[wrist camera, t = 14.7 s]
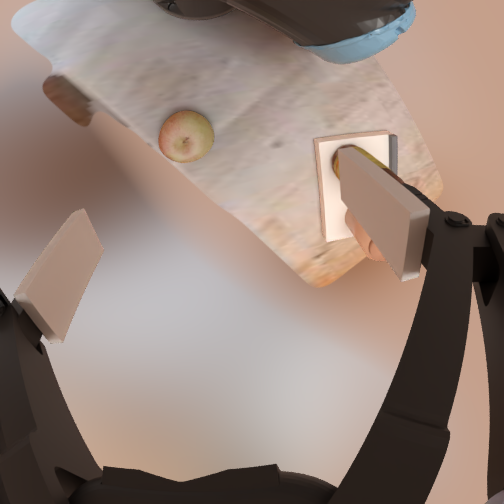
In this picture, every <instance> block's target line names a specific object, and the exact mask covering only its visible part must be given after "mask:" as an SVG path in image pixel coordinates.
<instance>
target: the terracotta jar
mask: <svg viewBox="0 0 504 504" xmlns="http://www.w3.org/2000/svg"><path fill="white" fill-rule="evenodd" d="M345 223H346V225H347V227H348V228H349V230H350V231H351V233H352V234H353V235H354V237H355V238H356V240H357V241H358V243H359V244H360V246H361V247H362V249H363V251H364V252H365V254H366V255H367V256H368V257H369V258H370V259H372V260H377V261H385V260H386V259H385V258H384V256H383V255H382V253H381V252H380V251H379V249H378V248H377V246H376V245H375V244H374V242H373V241H372V240H371V238H370V237H369V235H368V234H367V233H366V231H365V230H364V229H363V227H362V226H361V225H360V223H359V222H358V221H357V219H356V218H355V217H354V216H353V214H352V213H351V212H350V210H349V209H347V211H346V214H345Z"/></svg>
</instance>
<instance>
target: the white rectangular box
mask: <svg viewBox="0 0 504 504" xmlns="http://www.w3.org/2000/svg"><path fill="white" fill-rule="evenodd" d="M314 144H315V153H316V162H317V172H318V182H319V193H320V205H321V218H322V233H323V236H324V238H325V240H326V242H329V241H334V240H339V239H344V238H348V237H353V236H354V235H353V234H352V233H351V231H350V230H349V228H348V227H347V225H346V223H345V214H346V211H347V209H348V208H347V207H346V205H345V204H344V203H343V201H342V200H341V192H340V180H339V179H338V178H337V177H336V175H335V173H334V171H333V168H332V159H333V156H334V154H335V152H336V151H337V150H338V149H339V148H340V147H343V146H345V145H351V144H352V145H356V146H358V147H361V148H362V149H364V150H365V151H367V152H368V153H370V154H371V155H372V156H374V157H375V158H376V159H378V160H379V161H380V162H382V163H383V164H384V165H386V166H387V167H388V168H389V169H391V170H392V171H393V172H394V173H395V174H396V175H397V163H398V143H397V136H396V135H394V134H392V133H390V132H388V131H375V132H365V133H355V134H346V135H338V136H330V137H322V138H315V139H314Z"/></svg>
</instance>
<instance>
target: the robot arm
mask: <svg viewBox="0 0 504 504" xmlns="http://www.w3.org/2000/svg"><path fill="white" fill-rule="evenodd" d="M153 1H154V2H155V3H156V4H157V5H158V6H159V7H160V8H161V9H163V10H164V11H165V12H167V13H169V14H171V15H173V16H175V17H178V18H182V19H188V20H206V19H212V18H216V17H219V16H222V15H225V14H227V13H229V12H231V11H233V10H234V9H236V8H237V9H239V10H241V11H243V12H245V13H247V14H249V15H251V16H252V17H254V18H256V19H258V20H260V21H262V22H263V23H265V24H267V25H269V26H271V27H272V28H274V29H276V30H277V31H279V32H281V33H282V34H284V35H286V36H287V37H289V38H291V39H292V40H293V42H294V43H295V44H296V45H297V46H299V47H301V48H304V49H307V50H309V51H311V52H312V53H314V54H315V55H317V56H319V57H320V58H322V59H323V60H325V61H327V62H331V63H334V64H350V63H355V62H358V61H361V60H364V59H366V58H369V57H371V56H373V55H375V54H377V53H379V52H380V51H382V50H384V49H385V48H387V47H388V46H390V45H391V44H392V43H394V42H395V41H396V40H397V39H398V35H399V34H401V33H404V32H406V31H407V30H408V29H409V27H410V26H411V25H412V23H413V21H414V19H415V16H416V10H415V7H414V5H413V2H412V1H413V0H153ZM338 160H339V174H340V192H341V200H342V201H343V203H344V204H345V205H346V207H347V208H348V209H349V210H350V212H351V213H352V214H353V216H354V217H355V218H356V219H357V221H358V222H359V223H360V225H361V226H362V227H363V229H364V230H365V231H366V233H367V234H368V235H369V237H370V238H371V240H372V241H373V242H374V244H375V245H376V246H377V248H378V249H379V251H380V252H381V253H382V255H383V256H384V258H385V259H386V261H387V262H388V263H389V265H390V266H391V267H392V269H393V271H394V272H395V274H396V275H397V277H398V278H399V280H400V281H401V282H402V281H405V280H409V279H413V278H416V277H419V273H420V268H421V263H422V265H423V266H424V267H425V268H426V270H427V272H426V276H425V281H424V285H423V289H422V292H421V296H420V300H419V304H418V307H417V311H416V314H415V317H414V321H413V324H412V327H411V330H410V333H409V336H408V340H407V343H406V346H405V348H404V351H403V354H402V357H401V359H400V362H399V365H398V368H397V370H396V373H395V375H394V378H393V381H392V383H391V385H390V388H389V390H388V393H387V395H386V397H385V399H384V402H383V404H382V406H381V408H380V410H379V413H378V415H377V417H376V419H375V421H374V423H373V425H372V427H371V429H370V431H369V433H368V435H367V437H366V439H365V441H364V443H363V445H362V447H361V449H360V451H359V453H358V454H357V456H356V458H355V460H354V461H353V463H352V465H351V467H350V468H349V470H348V472H347V474H346V475H345V477H344V479H343V480H342V482H341V484H340V485H339V487H338V488H337V487H335V486H333V485H331V484H329V483H328V482H325V481H323V480H321V479H318V478H316V477H312V476H309V475H305V474H300V473H294V472H283V471H280V469H279V467H278V466H277V464H273V465H266V466H258V467H249V468H239V469H228V470H225V471H221V472H219V473H215V474H211V475H208V476H205V477H200V478H197V479H193V480H189V481H185V482H177V481H173V480H170V479H166V478H163V477H160V476H156V475H153V474H150V473H147V472H144V471H141V470H136V469H124V468H115V467H107V466H103V471H102V470H101V469H100V468H99V466H98V465H97V463H96V462H95V460H94V458H93V456H92V455H91V453H90V451H89V449H88V447H87V445H86V444H85V442H84V440H83V438H82V436H81V434H80V432H79V430H78V428H77V426H76V424H75V422H74V420H73V417H72V415H71V413H70V411H69V409H68V407H67V404H66V402H65V399H64V397H63V395H62V392H61V390H60V387H59V385H58V382H57V380H56V377H55V374H54V372H53V369H52V366H51V363H50V361H49V357H48V354H47V351H46V349H45V346H44V345H43V343H42V342H41V341H40V339H41V337H42V334H43V335H44V336H45V338H46V339H47V340H48V341H49V342H50V343H51V344H53V343H63V341H64V338H65V336H66V333H67V331H68V328H69V326H70V323H71V321H72V319H73V316H74V314H75V311H76V309H77V307H78V304H79V302H80V300H81V297H82V295H83V293H84V291H85V289H86V287H87V285H88V282H89V280H90V278H91V276H92V274H93V272H94V270H95V268H96V266H97V264H98V262H99V260H100V258H101V256H102V254H103V252H104V249H103V247H102V245H101V243H100V241H99V239H98V237H97V235H96V233H95V231H94V228H93V226H92V225H91V222H90V220H89V218H88V216H87V213H86V211H85V209H84V208H83V209H80V210H77V211H74V212H73V213H72V214H71V215H70V217H69V218H68V219H67V220H66V221H65V223H64V224H63V225H62V227H61V228H60V229H59V230H58V232H57V233H56V234H55V236H54V237H53V238H52V239H51V241H50V242H49V244H48V245H47V246H46V248H45V249H44V251H43V252H42V253H41V255H40V256H39V257H38V259H37V260H36V262H35V263H34V264H33V266H32V268H31V269H30V270H29V272H28V273H27V275H26V276H25V278H24V279H23V281H22V283H21V284H20V286H19V287H18V289H17V291H16V292H15V294H14V297H15V298H14V300H13V301H12V303H10V301H9V300H8V299H7V297H6V296H5V294H4V293H3V292H2V290H1V289H0V504H425V502H426V500H427V497H428V495H429V493H430V491H431V489H432V486H433V484H434V482H435V479H436V477H437V475H438V472H439V470H440V467H441V465H442V462H443V459H444V456H445V454H446V451H447V447H448V444H449V440H450V431H449V430H448V428H447V424H448V420H449V416H450V413H451V409H452V405H453V402H454V397H455V394H456V390H457V386H458V381H459V377H460V372H461V367H462V362H463V357H464V351H465V345H466V339H467V332H468V324H469V315H470V306H471V293H472V282H473V286H474V290H475V294H476V299H477V304H478V309H479V314H480V319H481V325H482V331H483V337H484V344H485V352H486V361H487V369H488V383H489V404H490V437H489V455H488V472H487V495H488V501H487V502H486V503H485V504H504V214H500V213H492V214H490V215H489V217H488V220H487V225H486V226H484V225H472V222H471V221H470V220H469V219H468V218H467V217H466V216H464V215H463V214H460V213H457V212H452V211H446V212H444V211H443V210H441V209H440V208H439V207H438V206H437V205H436V204H434V203H433V202H432V201H431V200H430V199H428V198H427V197H426V196H425V195H424V194H423V195H422V193H421V192H420V191H419V190H417V189H416V188H415V187H413V186H410V185H408V184H406V183H402V184H400V183H399V182H398V181H397V180H395V179H394V178H393V177H392V176H390V175H389V174H388V173H386V172H385V171H384V170H383V169H381V168H380V167H379V166H377V165H376V164H375V163H373V162H372V161H371V160H369V159H368V158H367V157H365V156H364V155H362V154H361V153H360V152H358V151H357V150H355V149H354V148H353V147H349V148H341V149H338Z"/></svg>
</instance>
